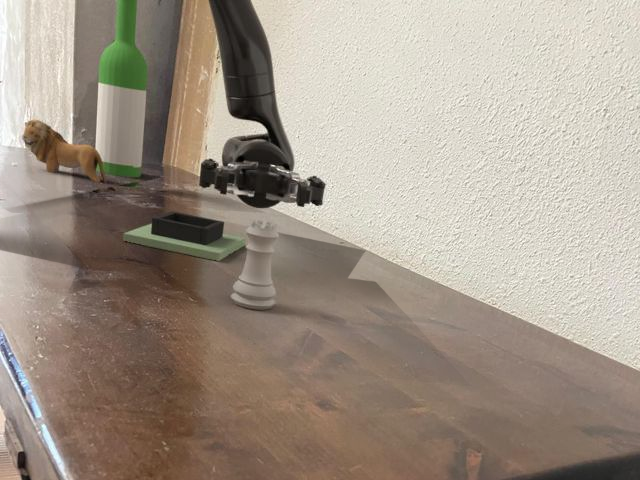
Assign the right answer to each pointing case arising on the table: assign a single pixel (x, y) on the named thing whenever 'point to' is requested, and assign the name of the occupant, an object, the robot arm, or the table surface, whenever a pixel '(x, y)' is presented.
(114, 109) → the wine bottle
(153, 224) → the socket pad
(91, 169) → the lion figurine
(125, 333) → the table surface
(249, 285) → the rook chess piece
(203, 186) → the robot arm
